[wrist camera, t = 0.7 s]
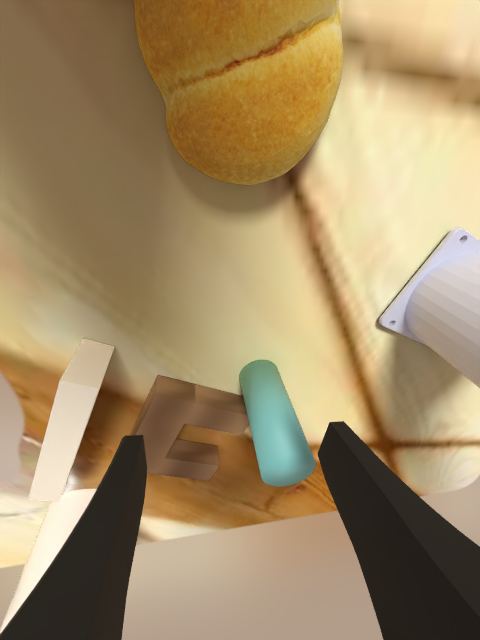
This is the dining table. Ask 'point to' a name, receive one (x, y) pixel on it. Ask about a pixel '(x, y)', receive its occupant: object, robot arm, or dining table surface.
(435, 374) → the dining table surface
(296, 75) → the bread roll
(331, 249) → the dining table surface
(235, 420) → the block
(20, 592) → the pill bottle
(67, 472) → the board
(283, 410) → the dowel
